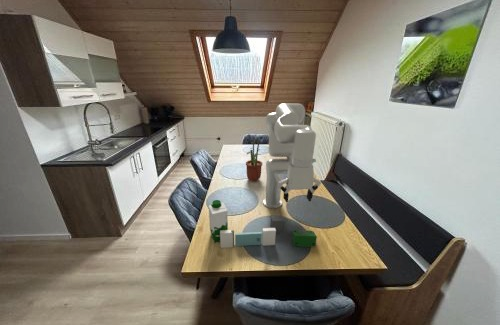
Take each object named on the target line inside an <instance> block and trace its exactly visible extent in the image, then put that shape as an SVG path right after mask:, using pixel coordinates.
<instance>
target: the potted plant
mask: <svg viewBox="0 0 500 325" xmlns="http://www.w3.org/2000/svg"><path fill="white" fill-rule="evenodd" d="M250 143H251V144H252V147H250V151H248V152H246V155H249V154H250V159H249V160H247V161H246V162H245V165H246V177H247V179H248V180H249V181H250V182H253V183H254V182H257V181H259V180H260V178H261V176H262V166H263V162H262V161H261V160H258V155H259V156H261V154H260V153H259V151H261V150H260V141H259V140H258V142H257V148H256V152H255V137H252V142H250Z"/></svg>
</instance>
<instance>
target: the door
mask: <svg viewBox="0 0 500 325" xmlns="http://www.w3.org/2000/svg"><path fill="white" fill-rule="evenodd" d="M262 232H263V231H251V232H250V231H248V232H234V247H239V246H240V247H241V246H245V247H246V246H257V245H258V246H260V245H262Z"/></svg>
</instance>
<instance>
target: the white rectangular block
mask: <svg viewBox="0 0 500 325" xmlns="http://www.w3.org/2000/svg"><path fill="white" fill-rule="evenodd" d="M261 232H262V240H261V245H262V247H263V246H275V245H276V234H277V233H276V229H275V228H270V227H267V228H266V227H265V228H264V227H263V228H262V231H261ZM219 242H220V244H219V245H220V248H221V249H222V248H223V249H225V248H233V247H235V230H234V229H228V230H221V231H220V241H219Z"/></svg>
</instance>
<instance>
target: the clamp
mask: <svg viewBox="0 0 500 325" xmlns="http://www.w3.org/2000/svg"><path fill="white" fill-rule="evenodd" d="M291 232H292V234H291V235H292V243H293V246H294V247H304V248H305V247H307V248H308V247H310V248H311V247H313V248H314V247H316V246H317V238H318V236H317V234H316V233H315V231H313V230H306V232H300V231H299V229H293V230H292V231H291Z"/></svg>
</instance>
